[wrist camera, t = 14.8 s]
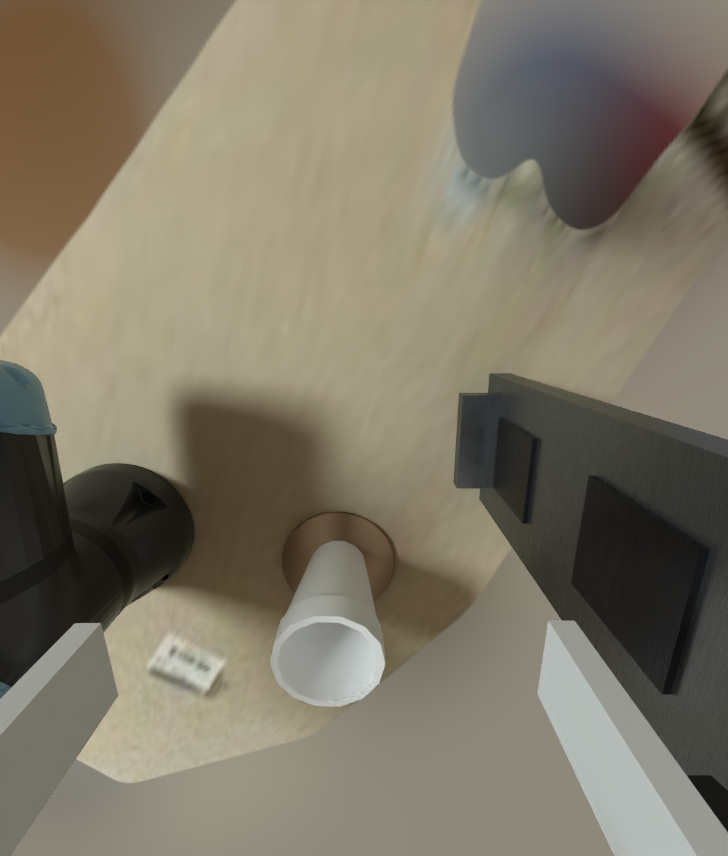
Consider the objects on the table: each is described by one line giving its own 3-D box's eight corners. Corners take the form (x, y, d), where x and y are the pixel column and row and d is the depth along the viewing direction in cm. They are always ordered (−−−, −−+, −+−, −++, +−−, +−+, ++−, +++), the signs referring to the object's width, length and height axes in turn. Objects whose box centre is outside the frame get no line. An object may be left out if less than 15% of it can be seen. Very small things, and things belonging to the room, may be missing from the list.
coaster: (287, 607, 45) (286, 611, 44) (280, 512, 41) (278, 514, 41) (392, 607, 45) (393, 610, 44) (394, 511, 41) (395, 513, 41)
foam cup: (307, 520, 41) (282, 604, 28) (387, 537, 42) (397, 628, 29) (291, 590, 43) (261, 696, 31) (366, 605, 44) (368, 716, 31)
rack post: (452, 498, 41) (667, 910, 12) (460, 373, 37) (797, 529, 8) (497, 498, 41) (820, 910, 12) (509, 373, 37) (1017, 527, 8)
